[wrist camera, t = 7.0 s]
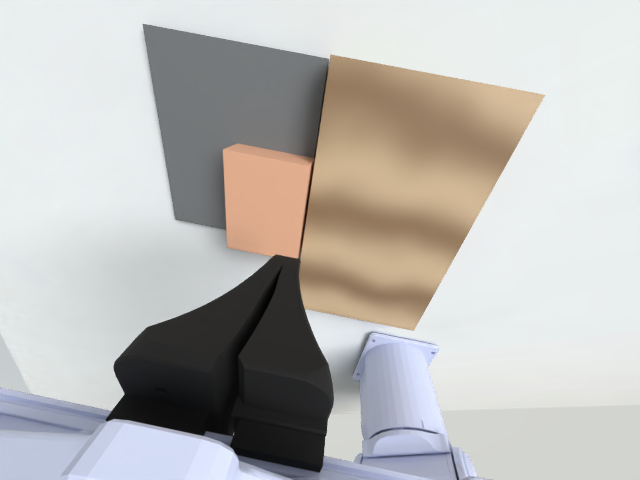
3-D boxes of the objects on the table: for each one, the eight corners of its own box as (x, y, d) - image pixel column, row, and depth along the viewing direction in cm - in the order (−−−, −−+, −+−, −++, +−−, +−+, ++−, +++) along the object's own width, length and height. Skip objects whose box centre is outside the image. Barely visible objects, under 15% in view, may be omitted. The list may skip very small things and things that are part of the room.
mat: (302, 241, 23) (301, 244, 22) (178, 217, 23) (175, 219, 22) (328, 60, 16) (328, 58, 15) (148, 25, 16) (142, 23, 15)
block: (302, 245, 22) (296, 261, 20) (239, 233, 22) (227, 247, 20) (314, 158, 18) (310, 166, 16) (237, 143, 18) (222, 149, 16)
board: (408, 311, 26) (413, 330, 24) (298, 289, 26) (293, 306, 24) (518, 95, 15) (545, 94, 13) (333, 60, 16) (330, 54, 13)
